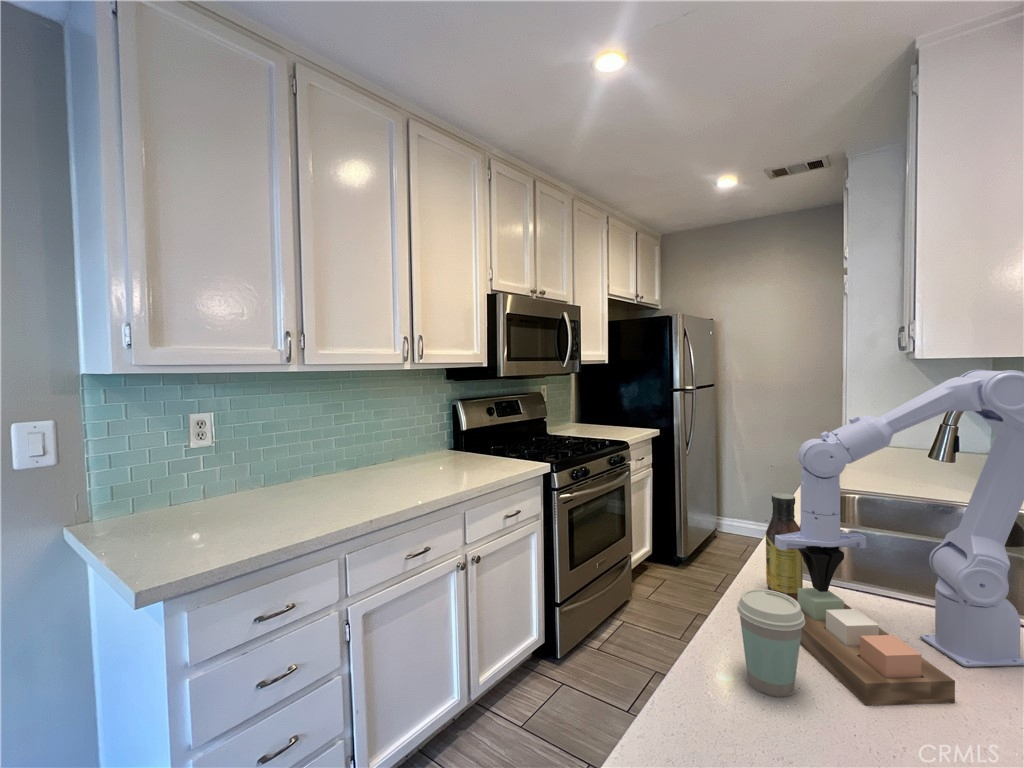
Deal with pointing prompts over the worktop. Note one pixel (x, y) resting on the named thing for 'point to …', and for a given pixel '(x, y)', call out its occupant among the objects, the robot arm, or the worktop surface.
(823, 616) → the sage green button
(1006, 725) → the worktop surface
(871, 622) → the cream button
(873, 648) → the terracotta button
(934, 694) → the walnut button board
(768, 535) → the sauce bottle
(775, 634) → the coffee cup
